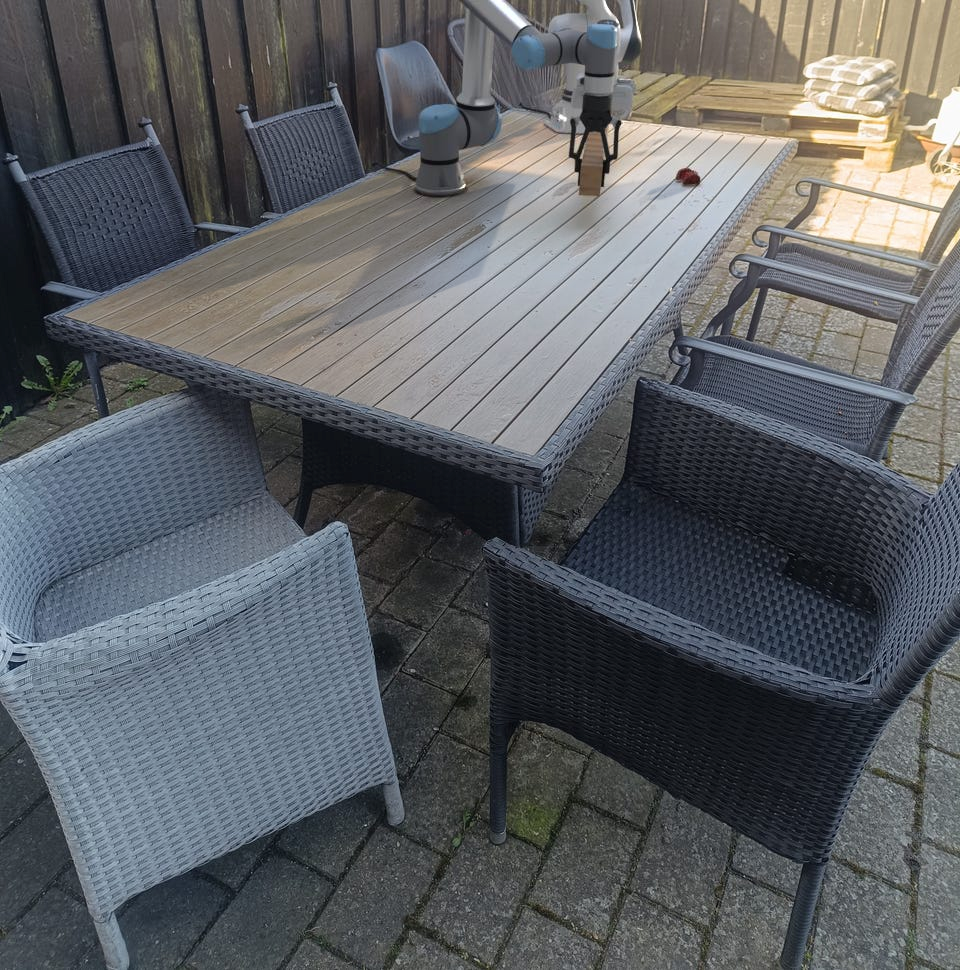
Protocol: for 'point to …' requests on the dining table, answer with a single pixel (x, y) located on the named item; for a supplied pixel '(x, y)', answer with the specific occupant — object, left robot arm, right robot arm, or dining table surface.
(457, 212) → the dining table surface
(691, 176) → the dark red lumpy piece
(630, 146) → the dining table surface
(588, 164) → the beam
